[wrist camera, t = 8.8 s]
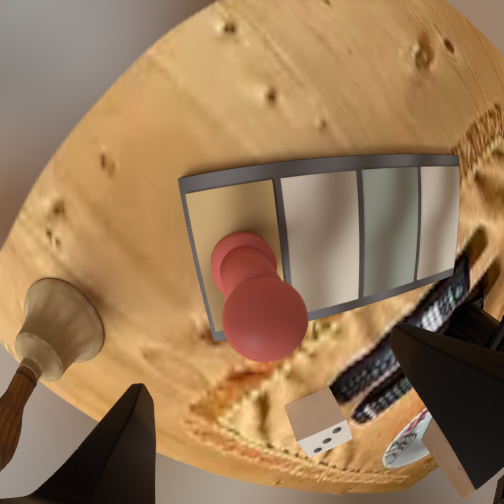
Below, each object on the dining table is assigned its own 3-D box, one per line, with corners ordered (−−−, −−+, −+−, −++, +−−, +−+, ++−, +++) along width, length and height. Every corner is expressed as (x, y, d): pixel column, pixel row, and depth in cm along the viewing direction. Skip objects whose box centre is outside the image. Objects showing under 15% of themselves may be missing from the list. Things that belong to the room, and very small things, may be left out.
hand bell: (75, 266, 18) (-53, 426, 3) (120, 352, 20) (78, 526, 5) (12, 290, 17) (-89, 406, 2) (55, 364, 20) (0, 495, 5)
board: (451, 155, 19) (460, 155, 18) (446, 271, 24) (453, 275, 22) (179, 178, 17) (177, 179, 16) (213, 333, 21) (214, 342, 20)
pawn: (267, 225, 18) (325, 285, 9) (274, 282, 19) (325, 367, 11) (205, 237, 17) (209, 311, 9) (217, 293, 19) (232, 391, 10)
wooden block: (431, 417, 35) (482, 485, 17) (466, 392, 36) (517, 450, 17) (420, 440, 39) (461, 501, 20) (453, 417, 40) (495, 471, 21)
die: (327, 385, 25) (346, 420, 21) (336, 407, 27) (352, 439, 22) (284, 405, 25) (296, 442, 21) (297, 425, 27) (309, 458, 22)
